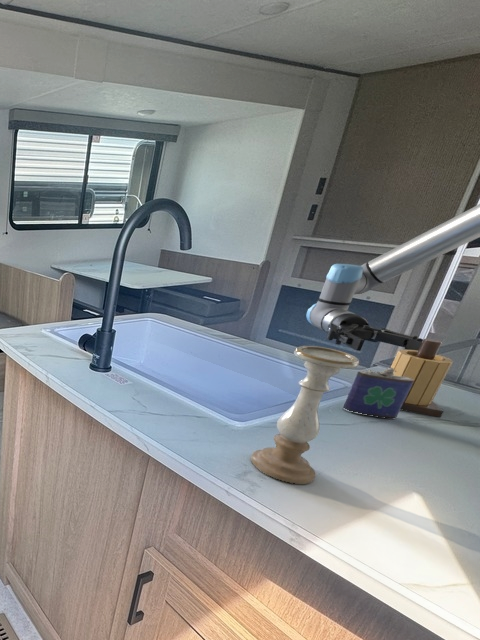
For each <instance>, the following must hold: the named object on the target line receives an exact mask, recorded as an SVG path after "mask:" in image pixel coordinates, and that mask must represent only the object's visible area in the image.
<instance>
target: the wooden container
mask: <svg viewBox="0 0 480 640" xmlns="http://www.w3.org/2000/svg"><path fill="white" fill-rule="evenodd" d="M417 352H418V351H416V350H406V349H399V350H398V351H397V352H396V355H395V357H394V359H393V361H392V363H391V365H390V368H393V369H394V372H393V374H394V375H393V376H402V377H408V378H411V379H413V380H414V382H413V384H412V386H411V388H410V390H409V392H408V394H407V397H406V399H405V401H404V402H405V403H409V404H414V405H429V404H431V403H432V401H433V402H434V399H435V397H436V395H437V393H438V391H439V390H440V387H441V386H442V384H443V382H444V380H445V378H446V375H447V374H448V372H449V371H450V369H451V367H452V366H453V363H454V360H453V359H451V358H449V357H447V356H443V355H441V354H438V353H437V354H436V356H435V358H434V360H428V359H423V358H419V357H415V356H416V354H417ZM395 371H396V372H395Z"/></svg>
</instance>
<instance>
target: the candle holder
mask: <svg viewBox="0 0 480 640" xmlns="http://www.w3.org/2000/svg"><path fill="white" fill-rule="evenodd" d="M293 354H294V356H295V357H296V358H298V359H300V360H302V361H305V362H304V363H303V366H304V367H305V369H306V376H305V377H303V378H302V379H301V380H299V381H298V385H299V386H301V387H300V391H299V392H298V395H297V397H296V399H295V401H294V402H293V404H292V405H291V406H290V407H289V408H288V409H287V410H285V411H284V412H283V413H282V414H281V415H280V416H279V418H278V419H277V422H276V429H277V431H278V433H277V434H275V435H274V436H273V441H274V443H275V447H273V446H272V447H271V446H270V447H269V446H268V447H265V448H262V449H258V450H255V451H254V452H252V454H251V457H250V461H251V460H252V462H251V464H252V463H253V464H254V465H255V466H256V467H257V468H258V469H259V470H261V471H262V472H264V473H265V474H264V473H263V474H264V475H266V474H267V475H266V476H268V475H270V476H272V477H274V478H273V479H275V478H276V479H275V480H277V479H279V480H278V481H280V480H282V481H281V482H284V481H286V482H285V483H287V482H290V483H289V484H293V483H295V484H294V485H308V484H311V483H312V482H313V481H314V480H315V478H316V474H317V473H316V471H315V469H314V468H313V466H311V464H310V463H309V461H308V460H307V459H306V458H304V456H302V455H303V454H304V453H305V452H307V451H309V450H310V449H311V447H310V446H311V445H310V443H308V442H311V441H313V440H315V439H316V438H317V437H318V436H319V434H320V431H321V430H320V429H321V423H320V418H319V406H320V403H321V401H322V399H323V395H324V394H325V393H328V392H330V391H331V387H330V384H329V380H330V378H331V377H333V376H334V375H337V374H339V373H340V371H341V370H351V369H356V368H358V367H359V365H360V359H359V358H358V357H357V356H355V355H353V354H350V353H349V352H345V351H342V350H338V349H335V348H330V347H329V348H328V347H323V346H316V345H300V346H299V345H298V346H297V347H296V348H294V351H293ZM253 464H252V465H253ZM254 465H253V466H254ZM255 466H254V467H255ZM256 467H255V468H256ZM257 468H256V469H257ZM258 469H257V470H258ZM259 470H258V471H259ZM261 471H260V472H261ZM262 472H261V473H262ZM270 476H269V477H270ZM272 477H271V478H272Z"/></svg>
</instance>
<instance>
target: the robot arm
mask: <svg viewBox="0 0 480 640" xmlns="http://www.w3.org/2000/svg"><path fill="white" fill-rule="evenodd" d="M479 238H480V203H479V204H477V205H475V206H473V207H471V208H469V209H468V210H466V211H463V212H461V213H460V214H458V215H456V216H454V217H452V218H450V219H448V220H446V221H444V222H442V223H440V224H439V225H437V226H435V227H433V228H430V229H429V230H426V231H425V232H423V233H421V234H419V235H417V236H416V237H413V238H411V239H410V240H408V241H406V242H404V243H402V244H400V245H398V246H396V247H394V248H391V249H390V250H388V251H386V252H385V253H382V254H380V255H379V256H377V257H375V258H373V259H371V260H369V261H367V262H365V263H363V264H361V265H358V264H350V263H335V264H332V265H331V266H330V269H329V271H328V272H327V274H326V277H325V278H326V279H325V281H324V284H323V287H322V290H321V292H320V294H319V297H318V300H317V301H316V303H314V304H312V305H311V306H310V307H309V308H308V309H307V311H306V320H307V322H308V323H309V324H311V325H312V326H313V327H314V328H316V329H319V330H321V331H322V332H325V333H326V334H327V335H326V336H327V337H326V340H328V341H333V340H335V341H334V344H335V345H337V346H338V345H341V344H343V345H346V346H347V347H349V348H351V349H353V350H355V351H359V352H361V350H362V348H363V345H364V343H365V341H367V342H372V343H379V342H380V343H384V344H388V345H392V346H397V347H400V348H404V350H416V351H418V350H419V348H420V346H421V344H422V342H423V340H424V338H420V337H419V336H418V335H414V336H412V335H408V334H406V333H405V334H404V333H401V332H397V331H394V330H390V329H387V328H377V327H373V326H372V325H370V324H369V322H368V320H367V319H366V318H365V317H363V316H361V315H359V314H356V313H355V312H352V311H349V307H350V305H351V303H352V300H353V298H354V295H362V294H365V293H366V292H369V291H372V289H374V288H375V287H377V286H379V285H382V284H383V283H385V282H388V281H389V280H392V279H394V278H395V277H398V276H400V275H402V274H404V273H406V272H409V271H410V270H413V269H415V268H417V267H420V266H421V265H424V264H425V263H428V262H430V261H432V260H434V259H437V258H438V257H441V256H442V255H443V256H444V255H445V254H447V253H449V252H451V251H454V250H455V249H457V248H461V246H464V245H466V244H468V243H470V242H473V241H474V240H477V239H479Z"/></svg>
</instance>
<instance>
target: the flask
mask: <svg viewBox="0 0 480 640" xmlns="http://www.w3.org/2000/svg"><path fill="white" fill-rule="evenodd" d="M393 372H394V369H393V368H391V366H387V367H386V369H385V370H383V371H377V370H374V371H372V370H371V369H368V370H359V371H358V372H357V373H356V376H355V378H354V381H353V383H352V385H351V388H350V390H349V392H348V395H347V397H346V399H345V402H344V403H343V407H342V409H343V408H345V409H347V410H349V411H353V412H358V413H362V414H367V415H373V416H372V417H374V416H378V417H385V418H384V419H386V418H395V419H397V417H398V415H399V413H400V411H401V410H400V408H401V406H402V405H403V402H404V401H405V399H406V397H407V394H408V392H409V390H410V388H411V386H412V384H413V382H414V380H413V379H411V378H408V377H402V376H393V375H394V374H393ZM395 372H396V371H395ZM378 417H377V418H378Z"/></svg>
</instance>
